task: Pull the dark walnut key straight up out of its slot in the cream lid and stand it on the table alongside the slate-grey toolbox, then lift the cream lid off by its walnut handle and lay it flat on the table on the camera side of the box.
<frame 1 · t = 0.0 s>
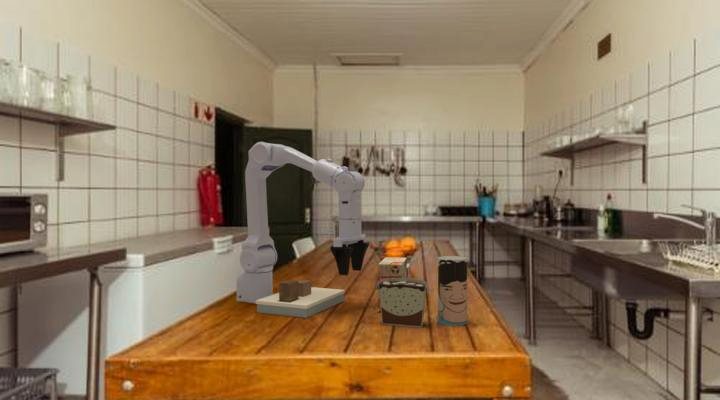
hand: (350, 272, 132), 10 cm above the table, tool pointing down, fingers open, 7 cm apart
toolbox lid: (302, 298, 136), point 3 cm above the table, touching toolbox
food container: (405, 323, 122), on the table
toolbox: (302, 309, 136), on the table
walnut key: (288, 311, 130), point 1 cm above the table, touching toolbox
cup: (452, 322, 123), on the table
stack of blocks: (395, 303, 145), on the table
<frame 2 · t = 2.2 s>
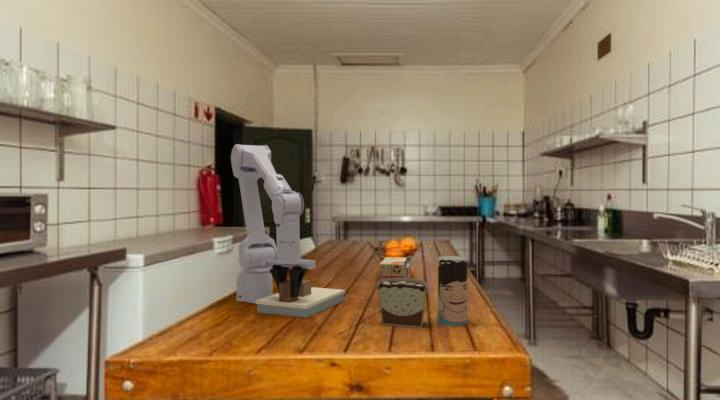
hand: (288, 296, 130), 5 cm above the table, tool pointing down, fingers closed on walnut key, 3 cm apart
walnut key: (288, 311, 130), point 1 cm above the table, touching gripper, toolbox
everything else where it was.
when the fingers open (5 cm above the table, at t = 5.6 s): walnut key stays where it is, on the table.
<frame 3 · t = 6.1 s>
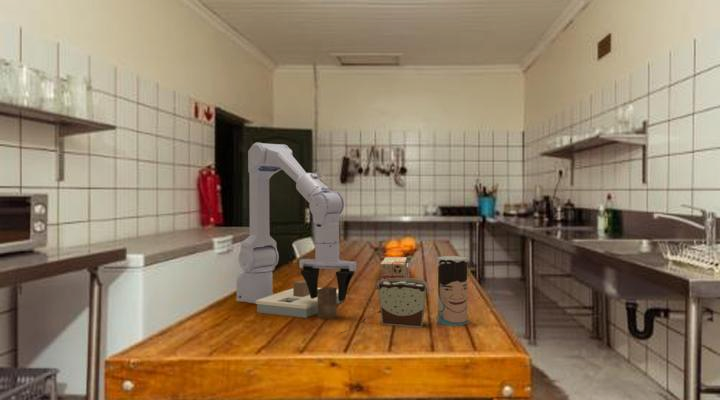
hand: (327, 299, 126), 5 cm above the table, tool pointing down, fingers open, 7 cm apart
walnut key: (327, 319, 125), on the table
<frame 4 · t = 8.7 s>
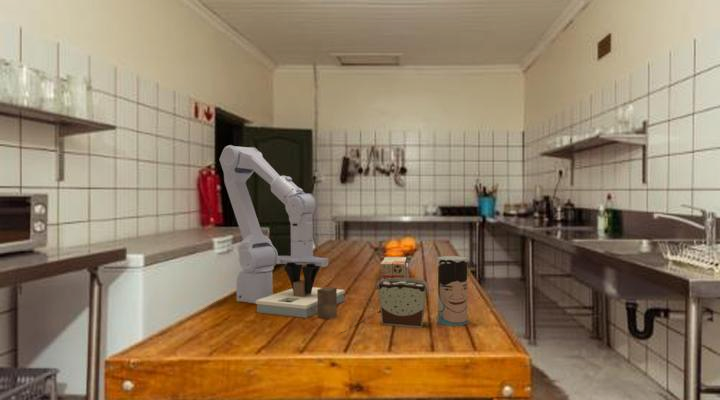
hand: (302, 292, 136), 4 cm above the table, tool pointing down, fingers closed on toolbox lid, 3 cm apart
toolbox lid: (302, 298, 136), point 3 cm above the table, touching gripper, toolbox
when the fingers open (3 cm above the table, at t = 13.9 s): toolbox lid stays where it is, on the table.
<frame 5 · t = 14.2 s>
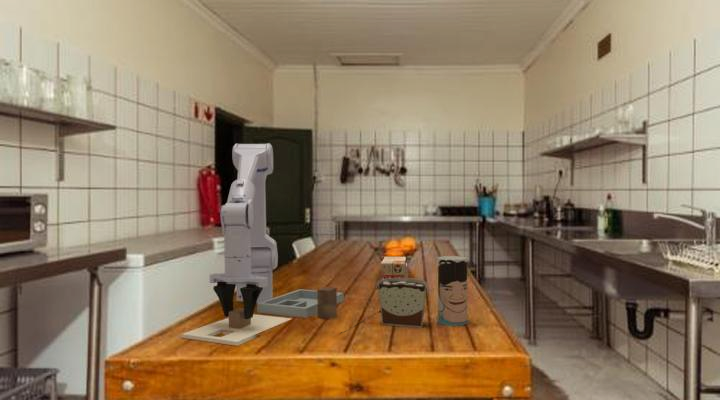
hand: (238, 316, 117), 3 cm above the table, tool pointing down, fingers open, 5 cm apart
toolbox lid: (239, 329, 118), on the table
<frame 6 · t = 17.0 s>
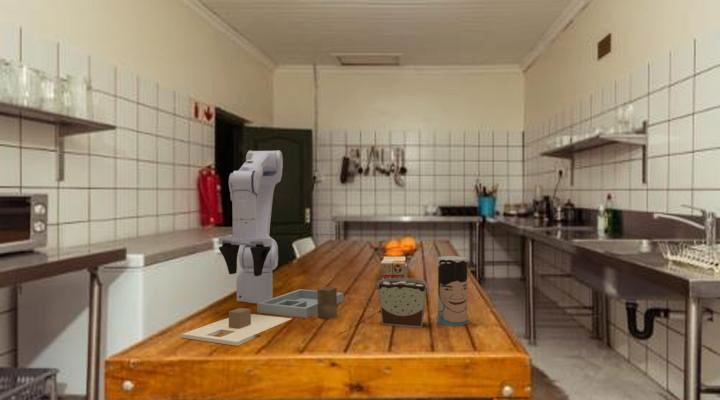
hand: (245, 274, 129), 10 cm above the table, tool pointing down, fingers open, 7 cm apart
at the end: walnut key inside the target area (0.3 cm from its centre), on the table; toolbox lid inside the target area (0.4 cm from its centre), on the table; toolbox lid tilted 0° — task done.
